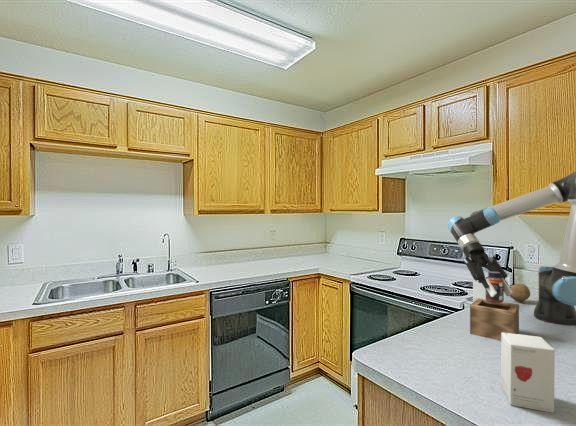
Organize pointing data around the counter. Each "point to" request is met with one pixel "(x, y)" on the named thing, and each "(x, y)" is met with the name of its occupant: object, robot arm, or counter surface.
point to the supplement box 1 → (478, 291)
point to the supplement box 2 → (527, 371)
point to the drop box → (493, 318)
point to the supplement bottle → (495, 287)
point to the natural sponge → (520, 292)
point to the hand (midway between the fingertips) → (502, 294)
